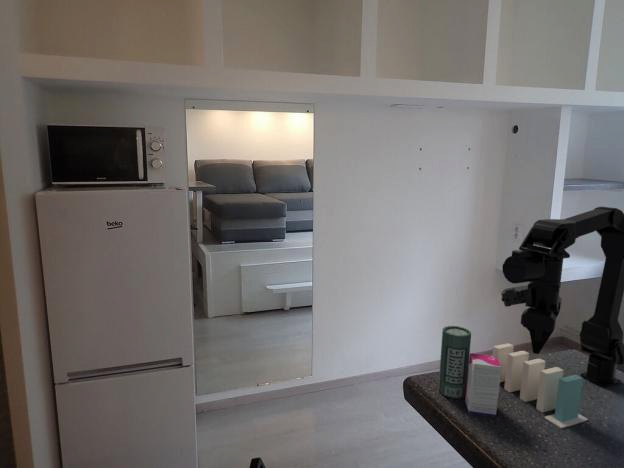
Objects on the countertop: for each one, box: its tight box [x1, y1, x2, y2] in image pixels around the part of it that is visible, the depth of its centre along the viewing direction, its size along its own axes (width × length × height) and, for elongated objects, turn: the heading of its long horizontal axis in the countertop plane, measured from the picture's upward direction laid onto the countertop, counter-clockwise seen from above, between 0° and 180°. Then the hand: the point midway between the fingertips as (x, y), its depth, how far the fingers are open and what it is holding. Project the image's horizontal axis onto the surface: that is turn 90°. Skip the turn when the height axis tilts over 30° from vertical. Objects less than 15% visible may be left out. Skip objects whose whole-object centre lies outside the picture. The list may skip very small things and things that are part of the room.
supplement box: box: [464, 352, 501, 418], centre depth 97 cm, size 6×6×12 cm
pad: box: [544, 413, 589, 430], centre depth 94 cm, size 8×4×1 cm, turn 113°
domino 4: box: [535, 366, 564, 413], centre depth 98 cm, size 2×5×9 cm, turn 113°
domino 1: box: [491, 343, 515, 383], centre depth 110 cm, size 2×5×9 cm, turn 113°
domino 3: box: [519, 358, 546, 403], centre depth 102 cm, size 2×5×9 cm, turn 113°
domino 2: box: [504, 350, 530, 393], centre depth 106 cm, size 2×5×9 cm, turn 113°
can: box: [438, 325, 472, 400], centre depth 104 cm, size 6×6×15 cm
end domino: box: [554, 374, 584, 422], centre depth 94 cm, size 2×5×9 cm, turn 112°
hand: (538, 346), depth 100 cm, fingers open, 9 cm apart
